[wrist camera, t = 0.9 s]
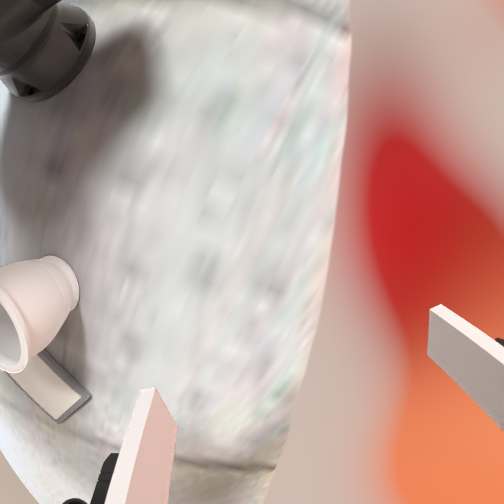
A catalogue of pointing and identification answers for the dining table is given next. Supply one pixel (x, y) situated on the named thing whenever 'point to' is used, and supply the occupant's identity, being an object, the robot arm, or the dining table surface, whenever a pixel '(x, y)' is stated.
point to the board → (50, 386)
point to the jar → (33, 307)
